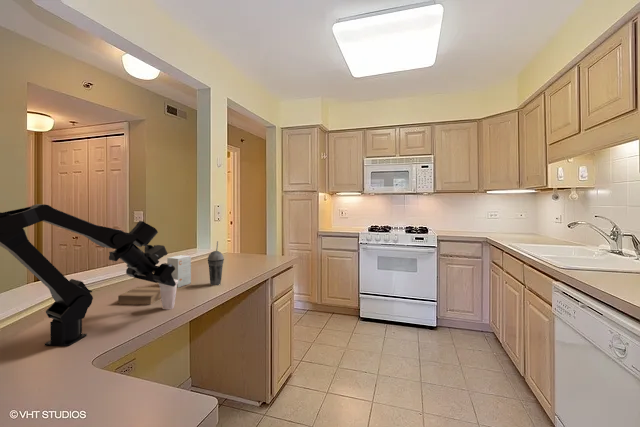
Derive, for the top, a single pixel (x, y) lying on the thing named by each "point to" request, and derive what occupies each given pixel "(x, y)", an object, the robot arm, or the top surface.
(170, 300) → the smoothie
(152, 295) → the walnut plinth
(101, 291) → the top surface
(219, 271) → the beverage cup
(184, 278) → the small box
